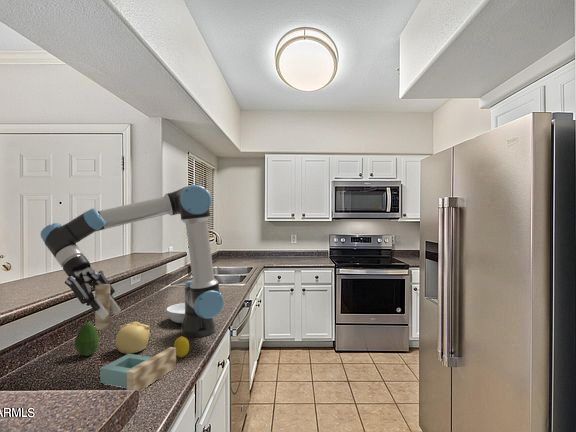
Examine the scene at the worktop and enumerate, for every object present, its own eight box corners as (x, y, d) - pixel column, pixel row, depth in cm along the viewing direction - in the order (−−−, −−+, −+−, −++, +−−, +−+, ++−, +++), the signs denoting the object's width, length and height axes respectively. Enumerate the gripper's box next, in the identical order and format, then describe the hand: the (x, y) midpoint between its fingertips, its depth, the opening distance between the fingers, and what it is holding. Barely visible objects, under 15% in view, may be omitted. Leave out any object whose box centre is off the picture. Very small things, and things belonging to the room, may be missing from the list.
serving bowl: (199, 329, 162) (199, 314, 162) (157, 326, 166) (157, 311, 166) (217, 316, 182) (217, 303, 182) (180, 314, 187) (180, 301, 187)
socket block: (128, 368, 122) (128, 353, 122) (158, 373, 118) (158, 358, 118) (100, 384, 110) (100, 368, 110) (131, 390, 106) (131, 373, 106)
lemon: (170, 358, 130) (170, 336, 130) (183, 353, 134) (183, 332, 134) (179, 362, 126) (179, 339, 126) (192, 357, 131) (192, 335, 131)
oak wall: (170, 367, 122) (170, 346, 122) (176, 368, 121) (176, 347, 121) (126, 395, 103) (126, 371, 103) (133, 396, 102) (133, 372, 102)
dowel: (103, 324, 120) (103, 283, 119) (113, 326, 118) (113, 284, 118) (92, 328, 115) (92, 286, 115) (102, 330, 114) (102, 287, 114)
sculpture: (153, 344, 143) (153, 318, 143) (142, 356, 131) (141, 327, 131) (124, 345, 143) (124, 318, 143) (110, 357, 131) (110, 328, 131)
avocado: (93, 349, 138) (93, 318, 138) (102, 354, 133) (102, 322, 133) (71, 355, 132) (71, 323, 132) (79, 361, 127) (79, 328, 127)
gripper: (89, 265, 130) (125, 314, 125) (43, 273, 113) (82, 330, 108) (100, 251, 128) (137, 300, 123) (55, 257, 112) (95, 314, 106)
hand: (111, 314), depth 116 cm, fingers closed on dowel, 4 cm apart
